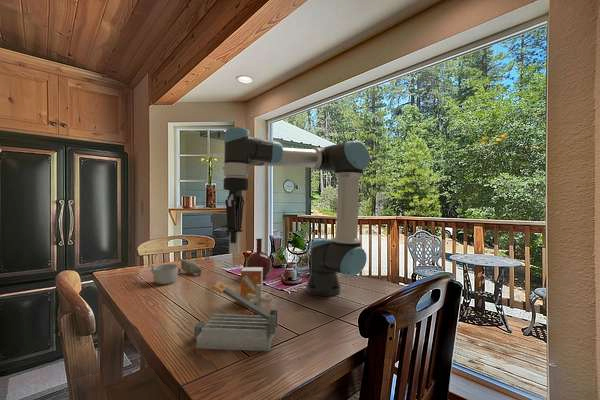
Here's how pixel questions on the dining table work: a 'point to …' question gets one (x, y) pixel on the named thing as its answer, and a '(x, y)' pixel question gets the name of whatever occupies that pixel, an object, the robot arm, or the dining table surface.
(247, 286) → the small box
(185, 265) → the decorative bird
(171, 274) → the teacup
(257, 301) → the pipe connector
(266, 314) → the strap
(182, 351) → the dining table surface
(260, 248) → the round-bottom flask
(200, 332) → the heatsink
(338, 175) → the robot arm
